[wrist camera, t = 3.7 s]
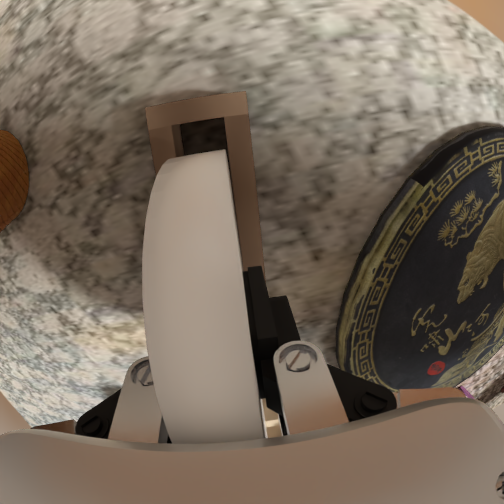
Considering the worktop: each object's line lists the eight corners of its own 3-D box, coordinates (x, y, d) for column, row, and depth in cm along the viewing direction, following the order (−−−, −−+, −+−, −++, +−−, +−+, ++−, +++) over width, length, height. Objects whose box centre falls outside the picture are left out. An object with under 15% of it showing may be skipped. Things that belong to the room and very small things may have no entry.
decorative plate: (420, 423, 29) (251, 357, 18) (414, 413, 30) (248, 337, 20) (560, 265, 20) (511, 55, 10) (552, 258, 22) (495, 55, 11)
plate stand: (242, 96, 13) (245, 91, 10) (267, 339, 20) (273, 365, 17) (158, 109, 12) (145, 107, 10) (208, 346, 19) (207, 373, 17)
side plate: (223, 125, 12) (238, 365, 2) (251, 320, 18) (278, 509, 8) (182, 132, 12) (30, 368, 2) (222, 324, 18) (235, 513, 8)
